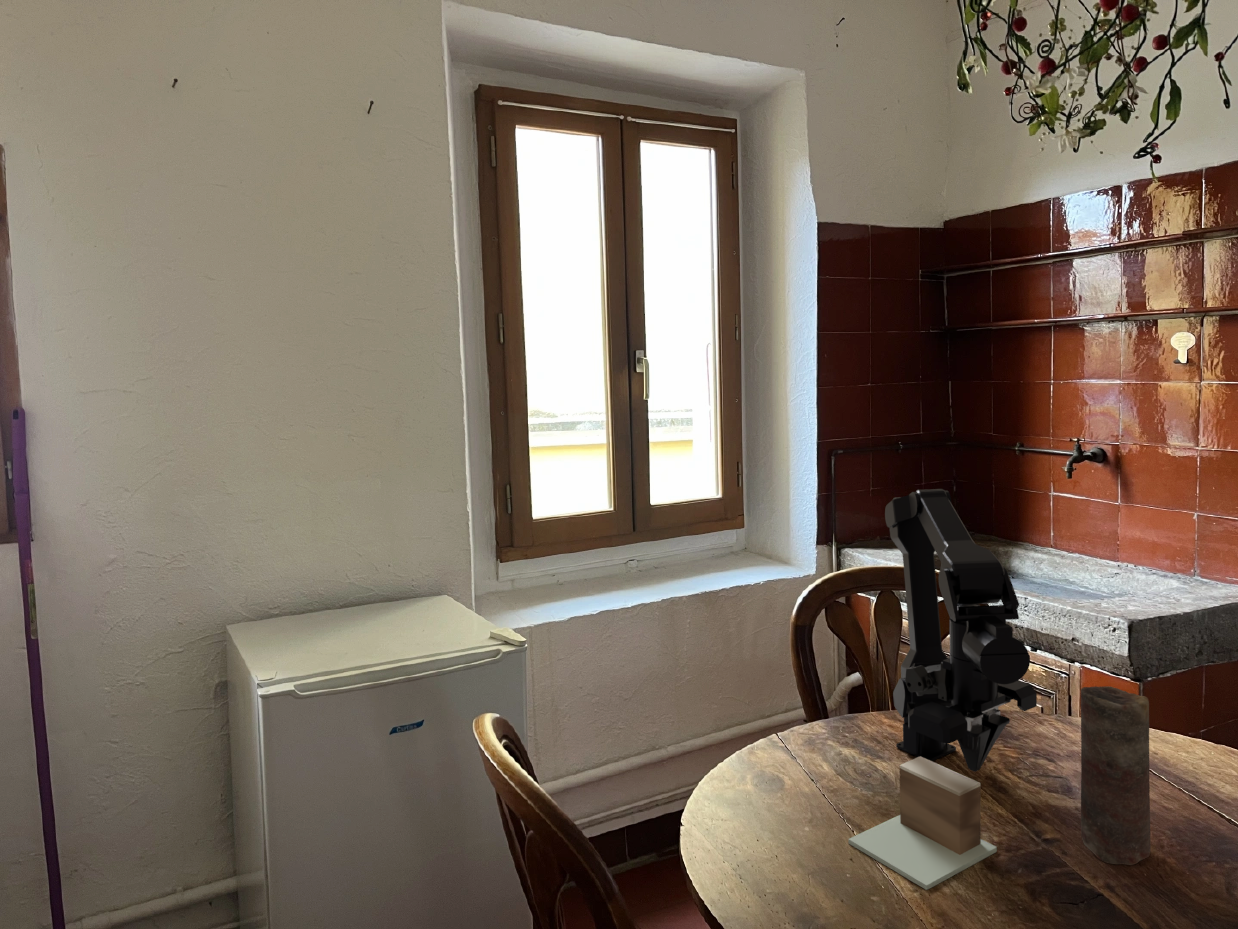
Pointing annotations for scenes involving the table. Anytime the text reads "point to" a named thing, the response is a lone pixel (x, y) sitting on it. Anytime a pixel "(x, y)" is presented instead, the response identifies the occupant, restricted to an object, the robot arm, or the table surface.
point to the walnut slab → (940, 804)
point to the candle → (1115, 774)
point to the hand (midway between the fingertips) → (973, 770)
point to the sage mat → (916, 853)
